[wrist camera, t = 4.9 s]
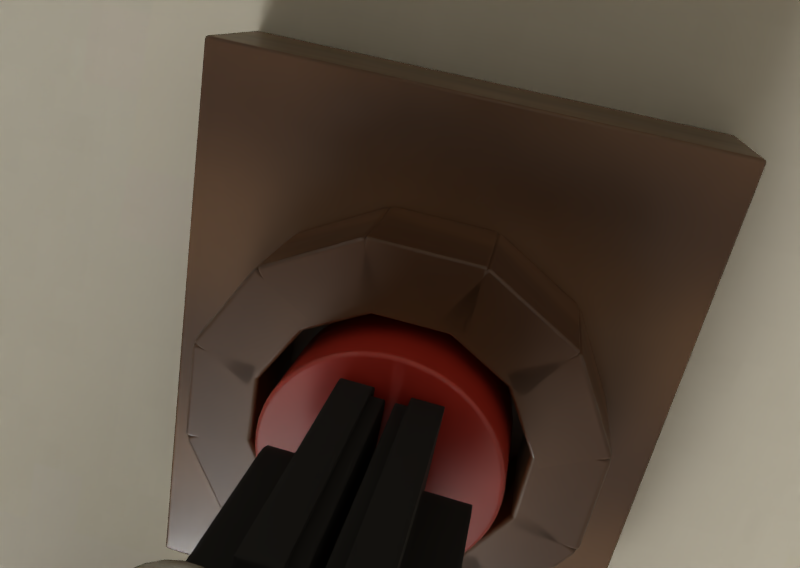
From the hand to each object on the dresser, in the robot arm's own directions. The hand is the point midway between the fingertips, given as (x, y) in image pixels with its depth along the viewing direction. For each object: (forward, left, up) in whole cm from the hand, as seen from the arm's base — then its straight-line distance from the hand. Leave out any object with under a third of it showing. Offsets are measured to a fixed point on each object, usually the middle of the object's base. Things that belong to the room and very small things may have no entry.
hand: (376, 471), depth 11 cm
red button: (0, 0, -2) cm, 2 cm away
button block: (0, 0, -5) cm, 5 cm away
